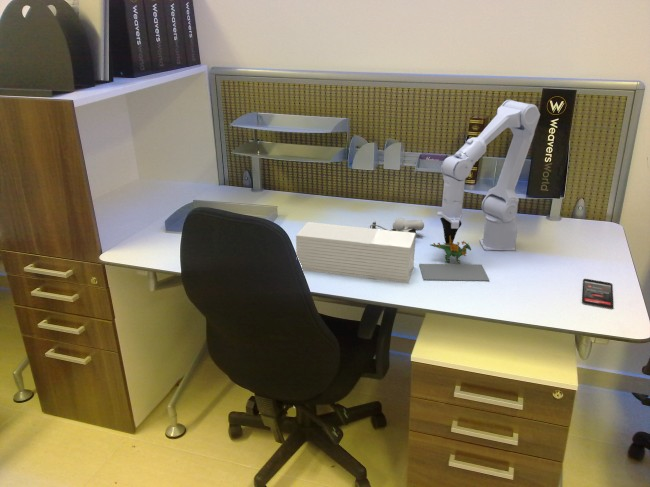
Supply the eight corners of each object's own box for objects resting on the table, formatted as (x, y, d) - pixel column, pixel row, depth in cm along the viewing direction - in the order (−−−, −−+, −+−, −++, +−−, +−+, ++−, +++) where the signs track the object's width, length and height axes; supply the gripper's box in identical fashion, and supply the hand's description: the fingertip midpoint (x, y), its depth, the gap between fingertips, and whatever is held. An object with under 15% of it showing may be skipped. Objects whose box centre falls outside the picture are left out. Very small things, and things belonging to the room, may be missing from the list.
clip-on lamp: (364, 245, 187) (415, 244, 178) (360, 227, 185) (411, 226, 175) (378, 230, 196) (428, 229, 187) (375, 213, 194) (424, 211, 184)
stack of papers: (413, 267, 166) (415, 232, 161) (408, 283, 156) (410, 247, 152) (308, 254, 174) (307, 221, 169) (296, 269, 164) (295, 235, 160)
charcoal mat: (481, 265, 166) (481, 264, 166) (489, 281, 157) (489, 280, 157) (419, 264, 167) (419, 263, 167) (423, 280, 158) (423, 279, 157)
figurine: (469, 265, 166) (472, 239, 163) (428, 261, 169) (430, 236, 165) (469, 261, 169) (472, 235, 165) (428, 257, 171) (430, 232, 168)
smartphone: (581, 302, 145) (583, 278, 158) (581, 305, 145) (582, 280, 158) (613, 308, 142) (612, 283, 155) (613, 311, 143) (611, 285, 155)
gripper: (435, 190, 171) (432, 232, 176) (442, 207, 157) (438, 252, 163) (459, 190, 170) (455, 233, 176) (468, 207, 157) (463, 252, 162)
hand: (448, 242), depth 169 cm, fingers closed
